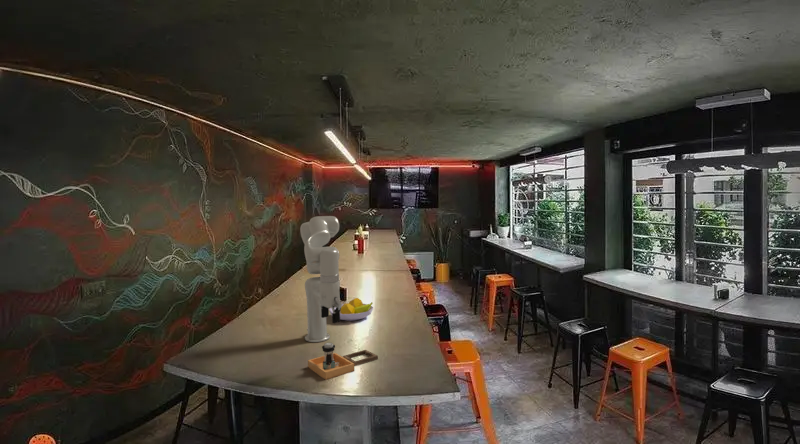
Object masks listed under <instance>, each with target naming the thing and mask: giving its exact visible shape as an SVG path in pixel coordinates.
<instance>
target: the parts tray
mask: <svg viewBox="0 0 800 444" xmlns="http://www.w3.org/2000/svg"><path fill="white" fill-rule="evenodd" d="M333 359H334V361H335V363H337V364H335V365H338V366H335V368H331V369H324V368H323V361H324V355H322V356H318V357H315V358H311V359H308V360H307V367H308V368H309V370H311V371H312V372H314V373H315V374H317V375H318V376H320V377H321V378H323V379H324V380H325V381H327V380H331V379H333V378H336V377H340V376H343V375H346V374H349V373H353V372H355V371H356V369H355V366H354V363H352V362H350V361H349V360H347V359H345V358H344V357H343V355H342V356H341V354H338V353H336V352H333Z"/></svg>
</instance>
